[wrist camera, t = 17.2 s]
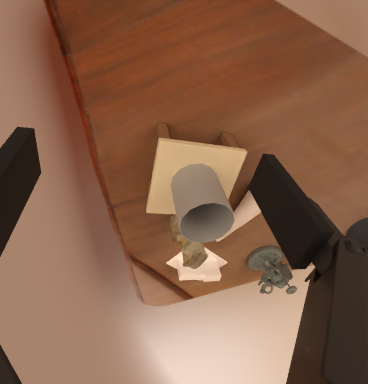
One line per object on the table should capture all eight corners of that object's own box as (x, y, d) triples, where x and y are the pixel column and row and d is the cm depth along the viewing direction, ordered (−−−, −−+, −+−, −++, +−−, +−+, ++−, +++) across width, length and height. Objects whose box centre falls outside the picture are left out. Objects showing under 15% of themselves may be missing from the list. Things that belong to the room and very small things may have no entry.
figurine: (259, 243, 73) (278, 280, 64) (288, 248, 77) (310, 284, 67) (240, 265, 78) (254, 303, 69) (268, 270, 82) (285, 306, 73)
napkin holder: (165, 263, 72) (167, 281, 68) (195, 241, 68) (199, 259, 64) (199, 280, 80) (203, 298, 76) (228, 262, 76) (234, 279, 72)
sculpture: (200, 206, 61) (216, 258, 49) (182, 225, 64) (193, 279, 52) (181, 196, 58) (193, 249, 46) (162, 217, 61) (170, 271, 49)
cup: (219, 161, 44) (238, 199, 36) (215, 199, 49) (231, 239, 41) (169, 166, 43) (178, 206, 35) (171, 203, 48) (178, 245, 40)
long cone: (197, 227, 67) (250, 178, 57) (215, 232, 71) (268, 187, 61) (202, 246, 64) (259, 197, 53) (221, 250, 67) (278, 205, 57)
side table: (155, 119, 46) (159, 140, 40) (233, 131, 50) (247, 152, 43) (144, 186, 55) (146, 213, 48) (211, 192, 59) (221, 217, 52)
